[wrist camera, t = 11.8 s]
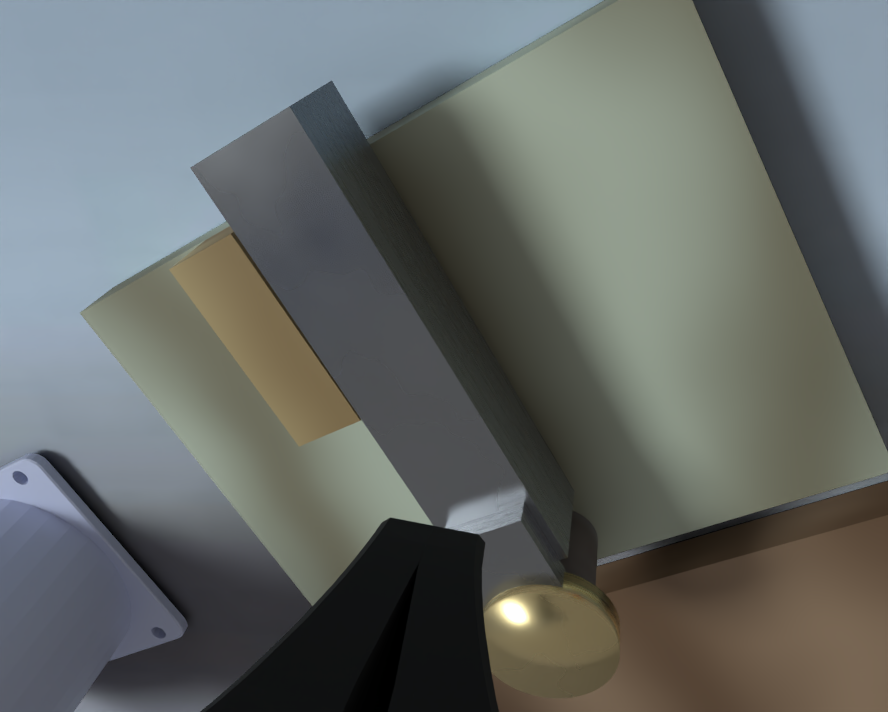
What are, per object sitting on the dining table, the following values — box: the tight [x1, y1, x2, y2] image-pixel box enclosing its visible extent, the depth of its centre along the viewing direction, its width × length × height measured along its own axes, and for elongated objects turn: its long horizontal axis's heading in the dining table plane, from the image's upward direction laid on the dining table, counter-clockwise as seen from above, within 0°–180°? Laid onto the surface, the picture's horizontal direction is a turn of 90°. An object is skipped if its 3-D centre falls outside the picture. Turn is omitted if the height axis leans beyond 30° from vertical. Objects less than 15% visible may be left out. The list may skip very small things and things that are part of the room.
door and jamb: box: [80, 0, 888, 712], centre depth 22 cm, size 16×28×4 cm, turn 31°
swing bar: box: [191, 81, 620, 698], centre depth 18 cm, size 14×3×3 cm, turn 30°
